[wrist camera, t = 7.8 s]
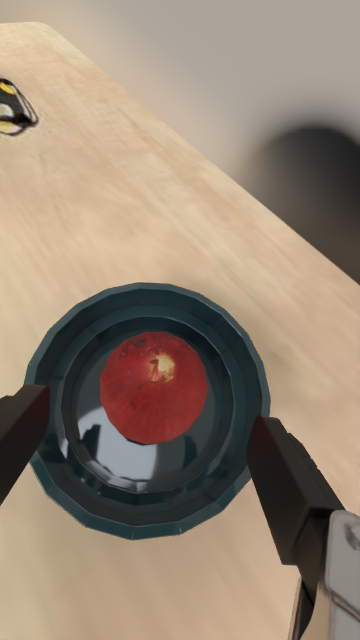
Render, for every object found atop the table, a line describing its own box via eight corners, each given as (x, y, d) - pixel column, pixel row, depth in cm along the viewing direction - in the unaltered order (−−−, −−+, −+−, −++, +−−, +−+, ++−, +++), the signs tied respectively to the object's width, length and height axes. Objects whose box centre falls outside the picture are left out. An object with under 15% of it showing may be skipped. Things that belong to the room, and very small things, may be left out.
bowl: (11, 378, 16) (-27, 356, 12) (166, 289, 22) (174, 253, 18) (122, 578, 13) (117, 634, 9) (275, 414, 18) (314, 404, 14)
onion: (94, 376, 17) (66, 326, 10) (168, 344, 19) (189, 283, 12) (127, 462, 15) (122, 475, 8) (207, 416, 17) (257, 394, 10)
